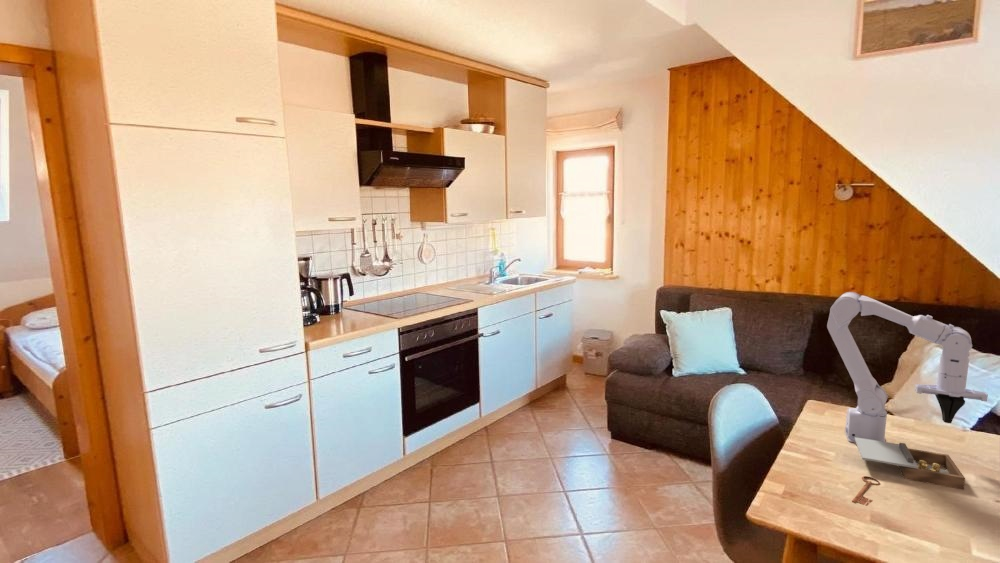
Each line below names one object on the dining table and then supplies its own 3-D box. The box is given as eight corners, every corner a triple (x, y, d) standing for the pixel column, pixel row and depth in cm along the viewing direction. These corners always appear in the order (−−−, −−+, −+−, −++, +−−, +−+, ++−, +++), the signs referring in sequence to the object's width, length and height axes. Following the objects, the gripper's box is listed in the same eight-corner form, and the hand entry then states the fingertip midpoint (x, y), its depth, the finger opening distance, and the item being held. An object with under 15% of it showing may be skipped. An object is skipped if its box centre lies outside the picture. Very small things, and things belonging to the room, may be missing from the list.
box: (904, 478, 129) (905, 467, 129) (893, 456, 140) (894, 446, 140) (963, 489, 124) (964, 478, 123) (947, 465, 135) (948, 454, 134)
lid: (862, 459, 133) (862, 453, 132) (854, 438, 144) (855, 433, 143) (918, 468, 127) (918, 462, 127) (905, 446, 138) (906, 441, 138)
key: (872, 512, 117) (890, 487, 127) (873, 509, 117) (891, 484, 126) (843, 499, 121) (863, 476, 131) (844, 496, 121) (864, 473, 131)
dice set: (911, 471, 132) (911, 464, 132) (916, 464, 135) (917, 457, 135) (936, 478, 128) (937, 471, 128) (940, 471, 131) (941, 464, 131)
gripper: (922, 374, 135) (917, 422, 137) (994, 382, 128) (988, 432, 130) (915, 366, 141) (910, 412, 143) (984, 373, 135) (977, 421, 137)
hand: (946, 421), depth 137 cm, fingers closed
